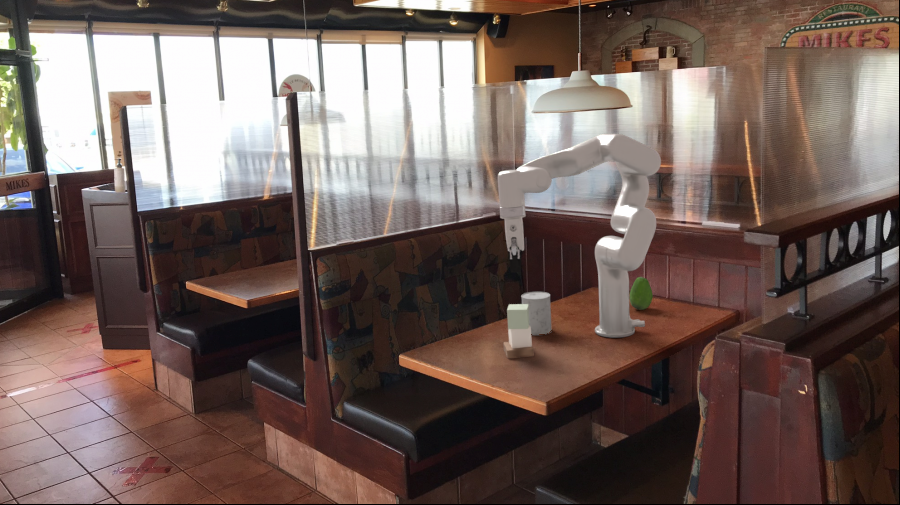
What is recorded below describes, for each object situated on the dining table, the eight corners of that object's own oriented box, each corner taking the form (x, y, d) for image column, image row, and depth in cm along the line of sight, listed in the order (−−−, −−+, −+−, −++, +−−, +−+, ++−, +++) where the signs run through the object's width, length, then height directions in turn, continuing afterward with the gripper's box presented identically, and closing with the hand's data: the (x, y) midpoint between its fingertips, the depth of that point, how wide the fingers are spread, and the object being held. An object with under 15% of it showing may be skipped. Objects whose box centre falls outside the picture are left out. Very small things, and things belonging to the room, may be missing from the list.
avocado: (648, 313, 254) (648, 280, 251) (626, 311, 258) (626, 278, 255) (655, 307, 260) (655, 274, 258) (634, 305, 264) (633, 273, 262)
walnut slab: (529, 349, 227) (528, 340, 227) (533, 357, 219) (533, 348, 219) (503, 351, 227) (503, 342, 226) (507, 360, 219) (507, 350, 218)
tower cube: (527, 340, 226) (526, 321, 225) (531, 346, 220) (530, 327, 219) (508, 342, 226) (507, 323, 225) (512, 348, 220) (511, 329, 219)
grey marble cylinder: (555, 327, 245) (553, 292, 243) (546, 336, 237) (545, 299, 234) (528, 325, 249) (526, 290, 247) (519, 334, 241) (517, 298, 238)
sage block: (529, 322, 224) (528, 304, 223) (528, 328, 218) (526, 309, 217) (510, 323, 225) (508, 304, 224) (508, 329, 219) (507, 310, 218)
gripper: (525, 216, 207) (528, 274, 210) (525, 207, 223) (528, 261, 227) (498, 217, 207) (502, 275, 211) (500, 208, 224) (504, 262, 228)
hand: (516, 268), depth 219 cm, fingers open, 9 cm apart
